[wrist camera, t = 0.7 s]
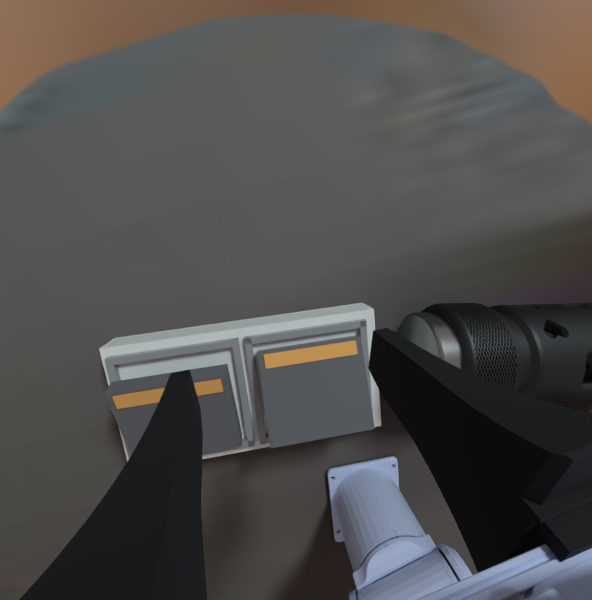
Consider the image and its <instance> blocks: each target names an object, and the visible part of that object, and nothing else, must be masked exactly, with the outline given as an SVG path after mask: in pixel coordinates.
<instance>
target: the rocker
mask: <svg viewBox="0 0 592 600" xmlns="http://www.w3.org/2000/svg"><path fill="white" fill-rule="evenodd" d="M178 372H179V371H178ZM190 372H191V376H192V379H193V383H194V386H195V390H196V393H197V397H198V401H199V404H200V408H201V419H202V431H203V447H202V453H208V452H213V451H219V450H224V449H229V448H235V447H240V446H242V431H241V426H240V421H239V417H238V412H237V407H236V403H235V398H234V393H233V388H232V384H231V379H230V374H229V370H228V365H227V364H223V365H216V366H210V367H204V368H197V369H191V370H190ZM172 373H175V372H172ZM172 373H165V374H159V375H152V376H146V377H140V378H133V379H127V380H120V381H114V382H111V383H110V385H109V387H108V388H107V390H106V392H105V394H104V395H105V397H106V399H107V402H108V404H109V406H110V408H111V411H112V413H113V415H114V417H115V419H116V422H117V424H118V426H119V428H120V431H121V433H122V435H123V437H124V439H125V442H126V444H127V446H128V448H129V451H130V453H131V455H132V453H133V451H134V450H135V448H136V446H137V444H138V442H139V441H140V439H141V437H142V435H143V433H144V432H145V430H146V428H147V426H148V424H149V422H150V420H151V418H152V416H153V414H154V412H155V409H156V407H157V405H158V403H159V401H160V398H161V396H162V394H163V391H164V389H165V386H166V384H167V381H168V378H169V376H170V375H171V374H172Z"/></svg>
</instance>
